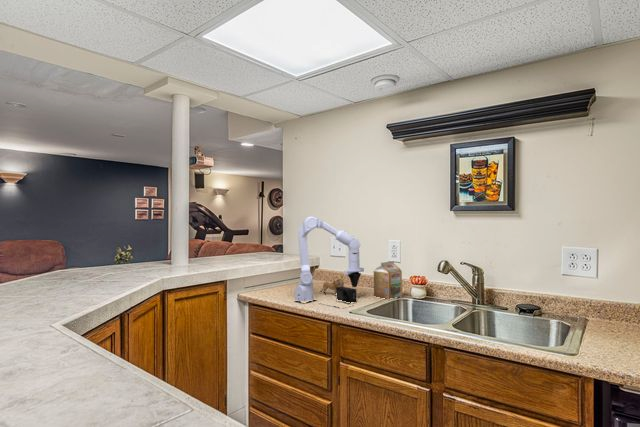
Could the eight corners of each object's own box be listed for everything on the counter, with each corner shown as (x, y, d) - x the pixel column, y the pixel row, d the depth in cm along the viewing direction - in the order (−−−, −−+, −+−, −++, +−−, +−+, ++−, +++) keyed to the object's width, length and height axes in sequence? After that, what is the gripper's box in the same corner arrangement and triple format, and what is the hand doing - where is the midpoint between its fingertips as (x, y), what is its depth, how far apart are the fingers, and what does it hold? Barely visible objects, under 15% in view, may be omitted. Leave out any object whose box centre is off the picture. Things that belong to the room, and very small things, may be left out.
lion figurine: (345, 294, 212) (345, 278, 212) (342, 296, 207) (342, 279, 207) (321, 292, 217) (320, 277, 217) (317, 294, 212) (317, 278, 212)
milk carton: (389, 300, 195) (388, 263, 195) (374, 297, 203) (373, 261, 203) (402, 297, 202) (401, 261, 202) (386, 294, 210) (386, 260, 210)
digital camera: (334, 301, 196) (334, 287, 196) (342, 299, 199) (341, 286, 199) (348, 304, 188) (348, 290, 188) (356, 302, 191) (356, 288, 191)
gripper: (351, 263, 191) (352, 289, 191) (368, 260, 202) (368, 285, 202) (340, 262, 196) (341, 288, 196) (357, 259, 207) (358, 284, 207)
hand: (354, 286), depth 199 cm, fingers closed
